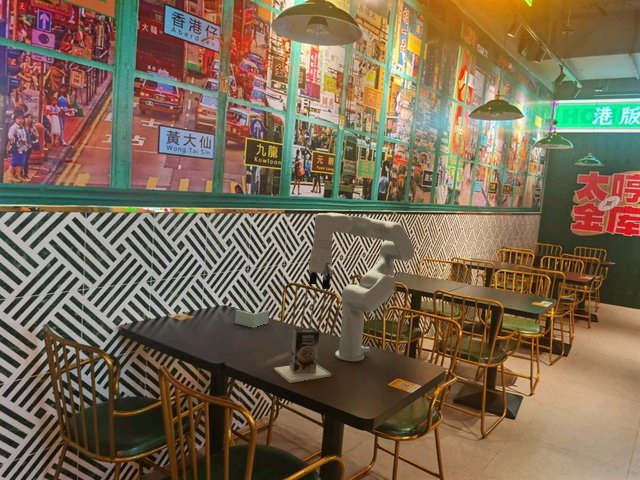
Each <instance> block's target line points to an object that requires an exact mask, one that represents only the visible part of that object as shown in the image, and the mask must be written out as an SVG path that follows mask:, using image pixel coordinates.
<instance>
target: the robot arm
mask: <svg viewBox="0 0 640 480" xmlns="http://www.w3.org/2000/svg"><path fill="white" fill-rule="evenodd" d="M313 232H314V233H313V242H312V243H313V244H312V247H311V252H310V257H309V262H308V269H309V272H308V273H309V280H308V281H309V283H308V284H309V285H317V282H318V274H319V275H321V274H322V277H323V278H322V283H321V284H322V285H321V286H322V287H321V289H322V290H330V289H331V280H332V277H333V274H334V272H335V269H334V267H332V266H333V254H332V253H333V251H332V249H333V248H332V247H333V237H334V236H333V235H334V232H336V233H340V234H347V235H351V236H355V237H361V238H368V239H375V240H381V241H383V242H382V243H381V245H380V248H379V257H378V258H379V259H378V262H377V263H375V264H374V266H372V268H370V269H369V270H367V272H366V273H365V274H363V276H361V279H360V280H359V284H360V285H359V284H358V285H357V284H348V285H346V286H344V288H343V289H342V291H341V306H342V308H341V309H342V313H341V323H340V324H341V325H340V338H339V347H338V348H339V349H338V350H336V351H335V354H334V355H335V357H336V358H337V359H339V360H342V361H345V362H346V361H347V362H360V361H363V360H364V359H365V355H364V353H366V352H370V350H371V348H370V346H364V345H363V344H362V343H363V336H364V335H363V334H364V323H365V315H364V314H365V313H372V312H374V311H376V310H378V308H380V306H381V305H382V304H383V303H384V302H386V301H387V300H388V299H389V298H390V297H391V296H392V294H393V293H394V291H395V288H396V281H395V279H394V277H393V274H394V271H395V265H394V263H395V262H394V260H397V261H401V262H409V261H411V260H413V258H414V255H415V248H414V245H413V242H412V240H411V238H410V236H409V235H408V233H407V231H406V230H405V228H404V226H403V225H402V224H400V223H398V222H397V221H396V222H395V221H388V220H381V219H376V218H371V217H364V216H352V215H348V214H344V213H337V212H326V213H323V212H321V213H320V212H319V213H317V214H316V215H315V219H314V229H313ZM364 312H365V313H364Z"/></svg>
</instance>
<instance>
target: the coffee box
mask: <svg viewBox="0 0 640 480" xmlns="http://www.w3.org/2000/svg"><path fill="white" fill-rule="evenodd" d="M319 339H320V332H319V331H318V330H317V329H316V328H315V327H306V328H305V327H302V328H301V327H297V328H296V327H294V328H293V329H292V339H291V353H290V360H289V361H290V362H289V366H290V369H291V370H292V372H293V373H294V374H297V373H316V365H317V364H318V362H317V361H318V353H319V352H318V351H319Z"/></svg>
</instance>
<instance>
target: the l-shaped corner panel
mask: <svg viewBox="0 0 640 480" xmlns="http://www.w3.org/2000/svg"><path fill="white" fill-rule="evenodd" d="M269 312H270V310H268V309H267V310H264V311H260V312H256V313H253V312H248V311H245V310H241V309H236V310H235V321H234V322H235V324H237V325H241V326H245V327H247V326H248V328H251V327H252V328H251V329H255V328H258V327H257V326H259V327H261V326H260V325H262V326H264V325H263V324H265V325H268V324H269V316H270V313H269ZM267 323H268V324H267ZM254 327H255V328H254Z"/></svg>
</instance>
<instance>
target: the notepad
mask: <svg viewBox="0 0 640 480" xmlns="http://www.w3.org/2000/svg"><path fill="white" fill-rule="evenodd" d="M273 372H275V373H277V374H278V375H279V374H280V375H279V376H281V377H282V378H283V379H284V380H285V381H287V382H288V383H290V384H292V383H297V382H303V381H304V380H305V381H310V379H311V380H316V379H323V378H327V377H332V373H331V372H330V371H329V370H327V369H326V368H324V367H322V366H320V365H319V364H318V363H317V365H316V373H297V374H294V373H293V372H292V370H291V369H290V365H286V366H285V365H283V366H279V367H273Z"/></svg>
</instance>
